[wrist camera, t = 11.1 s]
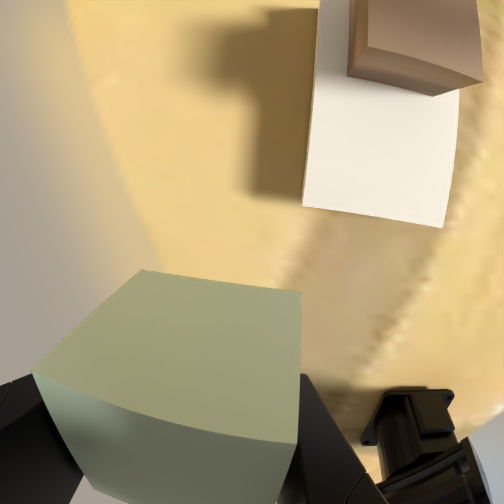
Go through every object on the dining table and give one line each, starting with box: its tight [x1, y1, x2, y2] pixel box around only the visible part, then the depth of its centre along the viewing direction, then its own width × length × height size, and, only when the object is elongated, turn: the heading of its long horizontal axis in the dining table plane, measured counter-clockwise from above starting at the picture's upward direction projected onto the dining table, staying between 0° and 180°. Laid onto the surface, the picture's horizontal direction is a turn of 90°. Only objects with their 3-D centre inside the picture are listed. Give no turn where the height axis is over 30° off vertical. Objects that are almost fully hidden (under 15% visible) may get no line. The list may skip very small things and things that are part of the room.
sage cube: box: [31, 270, 301, 504], centre depth 6 cm, size 4×4×4 cm
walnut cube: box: [347, 0, 483, 97], centre depth 9 cm, size 4×4×4 cm
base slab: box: [302, 0, 459, 228], centre depth 13 cm, size 11×7×3 cm, turn 175°
